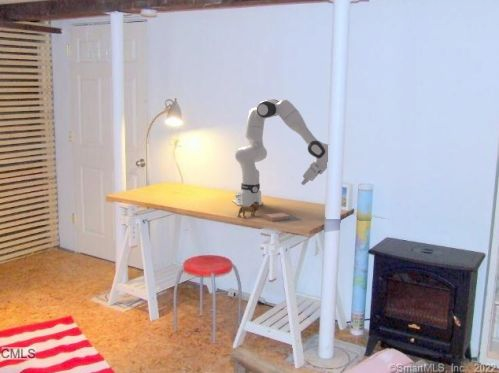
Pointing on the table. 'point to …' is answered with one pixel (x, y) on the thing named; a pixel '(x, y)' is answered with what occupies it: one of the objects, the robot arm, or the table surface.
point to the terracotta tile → (277, 216)
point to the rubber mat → (291, 218)
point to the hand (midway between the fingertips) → (302, 184)
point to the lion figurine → (249, 209)
